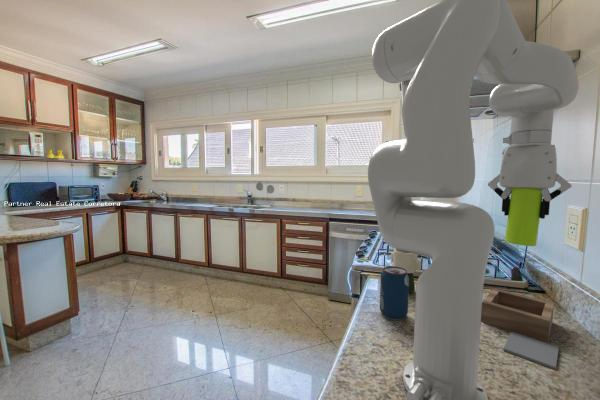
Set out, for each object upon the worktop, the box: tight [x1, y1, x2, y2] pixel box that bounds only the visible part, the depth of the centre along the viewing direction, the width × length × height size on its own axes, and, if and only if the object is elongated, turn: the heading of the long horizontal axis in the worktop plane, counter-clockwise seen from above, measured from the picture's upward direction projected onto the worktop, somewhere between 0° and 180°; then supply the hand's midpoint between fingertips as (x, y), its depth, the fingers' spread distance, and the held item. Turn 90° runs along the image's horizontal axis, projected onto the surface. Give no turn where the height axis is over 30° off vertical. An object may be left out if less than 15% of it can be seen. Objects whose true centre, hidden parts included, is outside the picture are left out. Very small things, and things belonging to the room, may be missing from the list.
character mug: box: [390, 248, 422, 293], centre depth 87 cm, size 11×7×13 cm, turn 31°
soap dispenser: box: [504, 188, 543, 247], centre depth 66 cm, size 6×7×20 cm
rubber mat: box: [502, 331, 560, 370], centre depth 57 cm, size 9×8×1 cm
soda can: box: [379, 265, 410, 321], centre depth 71 cm, size 7×7×12 cm
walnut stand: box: [481, 288, 555, 344], centre depth 69 cm, size 12×12×5 cm
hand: (524, 215), depth 66 cm, fingers closed on soap dispenser, 6 cm apart
